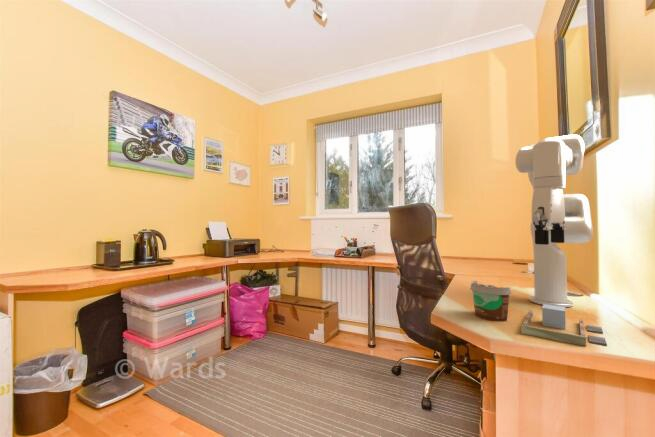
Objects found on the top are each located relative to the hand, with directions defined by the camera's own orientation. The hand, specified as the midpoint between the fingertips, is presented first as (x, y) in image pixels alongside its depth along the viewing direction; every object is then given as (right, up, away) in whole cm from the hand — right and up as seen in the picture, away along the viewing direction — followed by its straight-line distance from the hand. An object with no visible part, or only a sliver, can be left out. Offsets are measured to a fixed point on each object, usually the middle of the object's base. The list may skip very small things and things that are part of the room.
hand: (549, 243), depth 84 cm
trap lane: (-1, -23, -6) cm, 24 cm away
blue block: (0, -23, -2) cm, 23 cm away
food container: (-16, -23, +5) cm, 29 cm away
